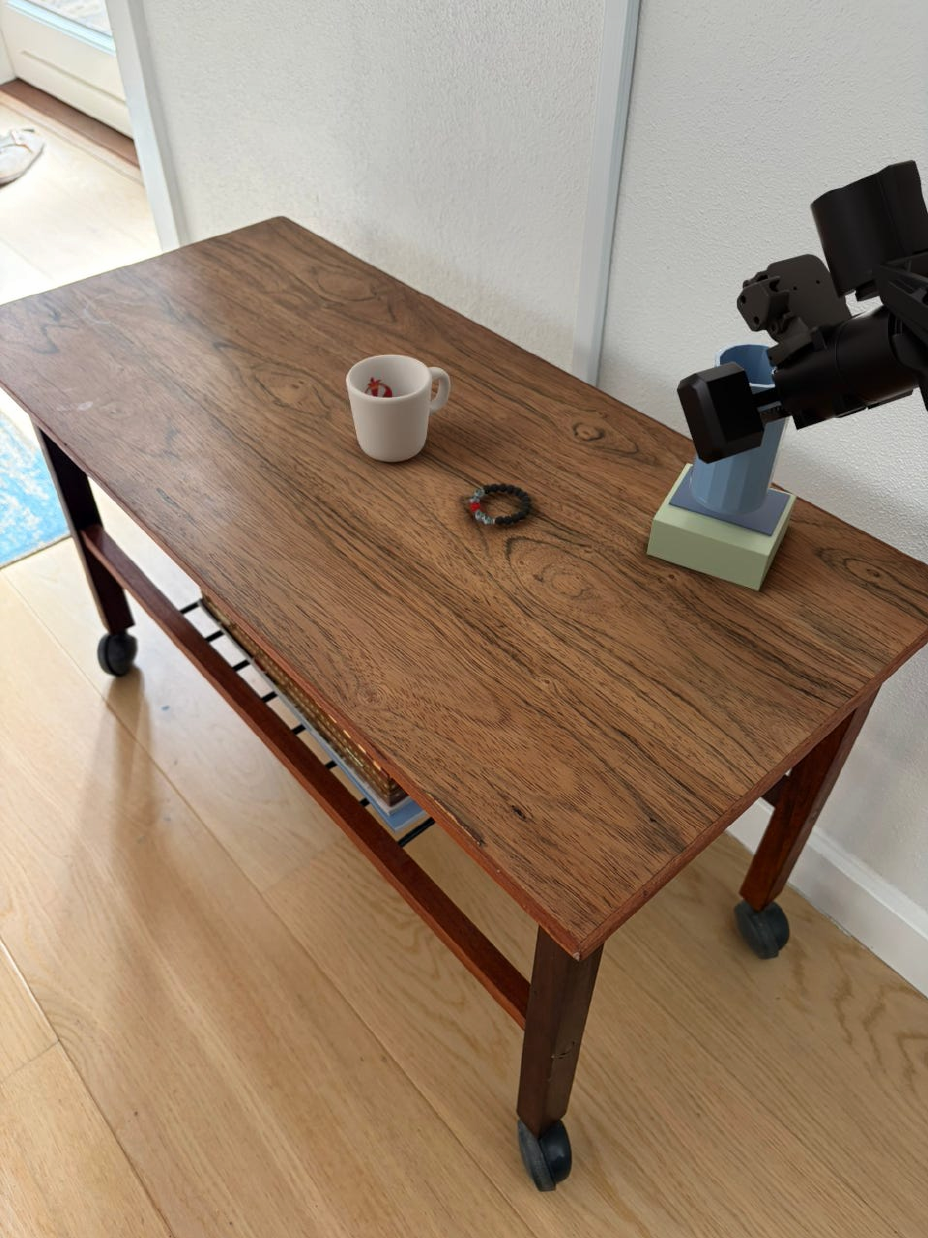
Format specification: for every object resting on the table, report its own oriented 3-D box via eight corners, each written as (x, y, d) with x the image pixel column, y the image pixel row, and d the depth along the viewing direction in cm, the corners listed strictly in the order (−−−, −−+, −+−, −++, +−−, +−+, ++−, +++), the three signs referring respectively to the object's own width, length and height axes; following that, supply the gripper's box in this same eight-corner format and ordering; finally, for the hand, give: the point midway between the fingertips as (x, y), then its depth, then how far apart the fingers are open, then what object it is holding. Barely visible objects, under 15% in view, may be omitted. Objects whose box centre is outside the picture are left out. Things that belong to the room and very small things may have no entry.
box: (786, 530, 92) (797, 493, 89) (758, 591, 86) (769, 554, 83) (680, 497, 95) (687, 460, 92) (646, 554, 89) (653, 517, 86)
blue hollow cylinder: (779, 509, 84) (816, 381, 75) (706, 520, 82) (735, 391, 74) (747, 463, 88) (778, 337, 79) (677, 473, 87) (701, 347, 78)
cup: (424, 405, 105) (423, 335, 100) (472, 441, 101) (473, 370, 95) (336, 442, 101) (329, 371, 95) (381, 481, 96) (377, 409, 90)
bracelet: (463, 493, 95) (463, 484, 94) (522, 485, 96) (523, 477, 95) (476, 532, 91) (477, 523, 90) (538, 523, 92) (539, 515, 91)
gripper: (939, 211, 69) (793, 292, 84) (718, 268, 63) (603, 346, 78) (987, 368, 70) (834, 422, 85) (773, 440, 64) (648, 485, 78)
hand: (733, 415), depth 81 cm, fingers closed on blue hollow cylinder, 6 cm apart
